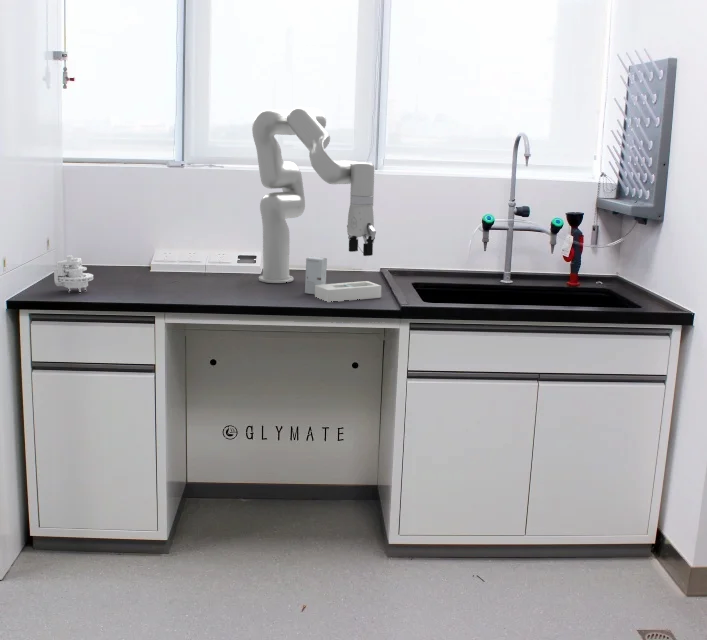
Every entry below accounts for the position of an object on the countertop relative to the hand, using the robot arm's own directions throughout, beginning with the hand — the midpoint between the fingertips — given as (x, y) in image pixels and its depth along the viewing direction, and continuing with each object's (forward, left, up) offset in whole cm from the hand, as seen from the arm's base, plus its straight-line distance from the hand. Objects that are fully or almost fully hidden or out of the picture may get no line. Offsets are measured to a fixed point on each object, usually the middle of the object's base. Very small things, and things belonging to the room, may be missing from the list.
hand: (360, 253), depth 260 cm
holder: (0, -4, -14) cm, 15 cm away
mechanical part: (-42, -83, -15) cm, 94 cm away
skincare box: (-10, -11, -15) cm, 21 cm away
